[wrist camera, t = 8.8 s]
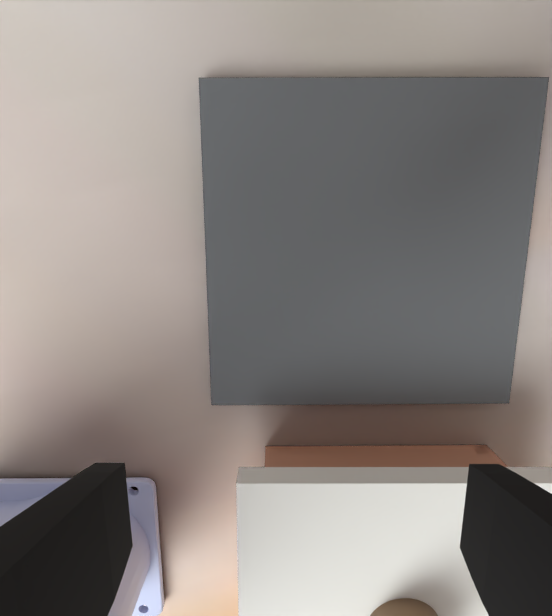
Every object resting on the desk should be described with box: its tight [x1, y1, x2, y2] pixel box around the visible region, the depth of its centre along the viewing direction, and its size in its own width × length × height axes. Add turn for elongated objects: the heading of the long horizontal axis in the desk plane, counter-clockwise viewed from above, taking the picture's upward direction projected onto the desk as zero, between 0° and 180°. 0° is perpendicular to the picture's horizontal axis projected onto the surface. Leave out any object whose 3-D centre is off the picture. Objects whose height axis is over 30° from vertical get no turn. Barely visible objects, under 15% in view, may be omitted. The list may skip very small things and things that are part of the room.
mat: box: [199, 77, 549, 405], centre depth 17 cm, size 14×14×1 cm
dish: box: [265, 445, 508, 467], centre depth 18 cm, size 11×11×4 cm
